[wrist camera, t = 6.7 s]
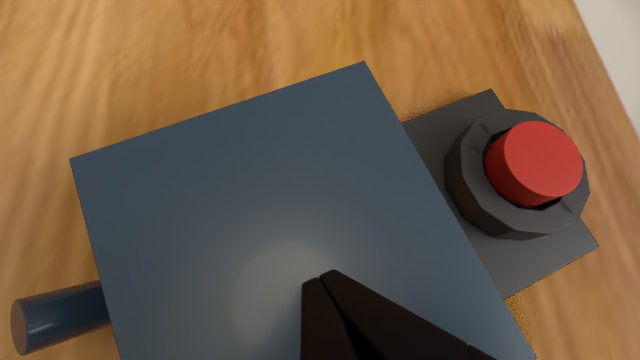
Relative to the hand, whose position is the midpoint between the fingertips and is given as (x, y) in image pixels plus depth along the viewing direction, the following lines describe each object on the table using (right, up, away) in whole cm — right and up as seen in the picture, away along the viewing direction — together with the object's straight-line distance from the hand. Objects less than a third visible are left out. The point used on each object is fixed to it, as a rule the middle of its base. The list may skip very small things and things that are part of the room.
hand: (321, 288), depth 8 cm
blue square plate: (-1, 0, +4) cm, 4 cm away
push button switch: (+10, +2, +12) cm, 16 cm away
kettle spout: (-9, -3, +8) cm, 12 cm away
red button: (+11, +3, +10) cm, 15 cm away
